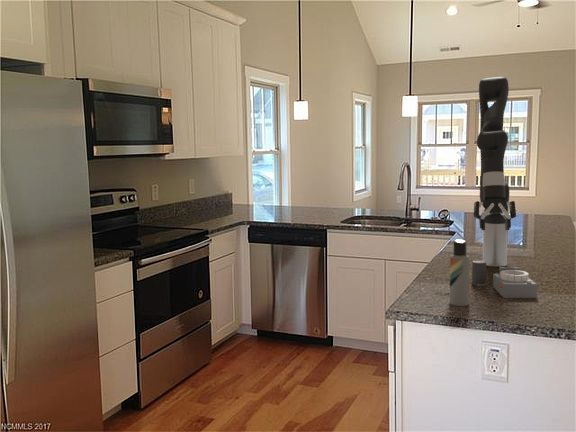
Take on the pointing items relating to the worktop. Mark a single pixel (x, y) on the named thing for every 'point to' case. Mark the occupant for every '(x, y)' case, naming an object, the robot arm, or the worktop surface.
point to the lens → (479, 273)
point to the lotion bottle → (459, 274)
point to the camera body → (514, 283)
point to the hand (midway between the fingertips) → (495, 230)
